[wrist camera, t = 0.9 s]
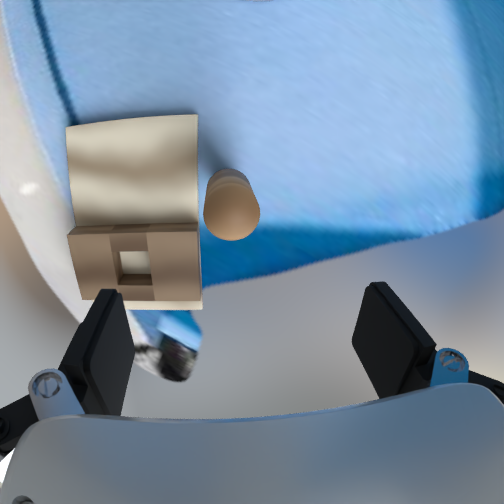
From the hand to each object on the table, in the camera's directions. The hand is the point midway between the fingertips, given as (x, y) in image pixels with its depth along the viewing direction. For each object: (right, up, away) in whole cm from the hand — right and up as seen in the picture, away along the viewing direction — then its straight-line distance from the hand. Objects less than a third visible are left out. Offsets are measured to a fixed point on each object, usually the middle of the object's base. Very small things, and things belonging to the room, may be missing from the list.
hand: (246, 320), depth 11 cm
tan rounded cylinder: (-2, +10, +20) cm, 22 cm away
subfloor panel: (-12, +6, +20) cm, 25 cm away
